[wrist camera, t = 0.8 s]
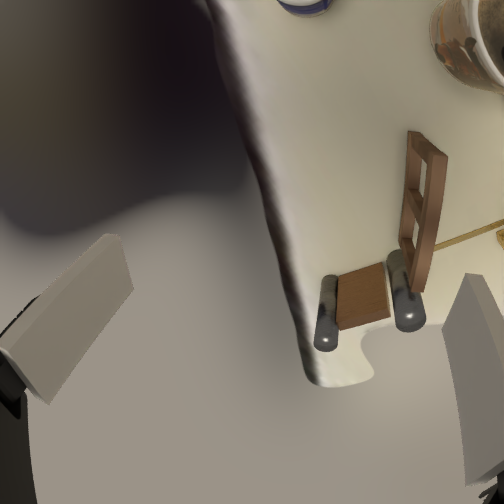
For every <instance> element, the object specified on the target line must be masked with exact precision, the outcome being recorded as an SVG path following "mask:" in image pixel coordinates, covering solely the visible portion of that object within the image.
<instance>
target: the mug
mask: <svg viewBox="0 0 504 504" xmlns="http://www.w3.org/2000/svg"><path fill="white" fill-rule="evenodd" d="M429 29H430V38H431V43H432V46H433V49H434V51H435V53H436V55H437V58H438V59H439V61H440V62H441V64H442V65H443V66H444V68H445V69H446V70H447V71H448V72H449V73H450V74H451V75H452V76H453V77H454V78H456V79H457V80H458V81H460V82H461V83H463V84H465V85H467V86H470V87H473V88H477V89H482V90H486V91H490V92H494V93H498V94H502V95H504V0H444V1H442V2H441V3H440V4H439V5H438V6H437V7H436V8H435V10H434V12H433V14H432V16H431V20H430V28H429Z"/></svg>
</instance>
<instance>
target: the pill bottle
mask: <svg viewBox="0 0 504 504" xmlns="http://www.w3.org/2000/svg"><path fill="white" fill-rule="evenodd" d="M277 1H278V2H279V3H280V5H281V6H282V7H283V8H284V9H285V10H287V11H288V12H289V13H291V14H293V15H296V16H300V17H314V16H318V15H320V14H322V13H324V12H325V11H326V10H328V9H329V7H330V6H331V4H332V2H333V0H277Z"/></svg>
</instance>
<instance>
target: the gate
mask: <svg viewBox="0 0 504 504" xmlns="http://www.w3.org/2000/svg"><path fill="white" fill-rule="evenodd" d="M422 159H423V160H424V161H425V162H426V164H427V170H426V180H425V189H424V198H423V197H422V195H421V194H420V192H419V184H420V174H421V162H422ZM447 163H448V156H447V155H446V154H444V153H443V152H441V151H440V150H439V149H438V148H437V147H436V146H434V145H433V144H432V143H431V142H430V141H429V140H427V139H426V138H425V137H424V136H423V135H422V134H421V133H420V132H411V131H408V143H407V162H406V176H405V188H404V198H403V207H402V216H401V224H400V232H399V239H398V242H399V246H400V248H401V250H402V253H403V257H404V261H405V265H406V269H407V273H408V277H409V285H410V290H411V292H424V289H425V285H426V281H427V277H428V273H429V269H430V264H431V260H432V256H433V251H434V246H435V242H436V237H437V231H438V226H439V221H440V215H441V209H442V202H443V196H444V188H445V181H446V172H447ZM415 218H416V221H417V223H418V225H419V232H418V238H417V244H416V249H415V247H414V244H413V241H412V237H413V230H414V224H415Z"/></svg>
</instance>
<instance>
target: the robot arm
mask: <svg viewBox="0 0 504 504" xmlns="http://www.w3.org/2000/svg"><path fill="white" fill-rule="evenodd" d="M133 290H134V287H133V284H132V280H131V277H130V273H129V270H128V266H127V262H126V259H125V255H124V251H123V247H122V243H121V239H120V235H114V234H104V235H103V236H102V237H101V238H100V239H99V240H98V241H96V243H94V244H93V245H92V246H91V247H90V248H89V249H88V250H86V251H85V252H84V253H83V254H82V255H81V256H80V257H79V258H78V259H77V260H76V261H75V262H74V263H72V264H71V265H70V266H69V267H68V268H67V269H66V270H65V271H64V272H63V273H62V274H61V275H60V276H59V277H58V278H57V279H56V280H55V281H54V282H53V283H52V284H51V285H50V286H49V287H48V288H47V289H46V290H45V291H44V292H43V293H42V294H40V295H39V296H37V297H36V298H34V299H33V300H31V302H30V303H28V305H27V306H26V307H25V308H24V310H23V311H21V312H20V313H19V314H18V315H17V318H14V319H13V321H12V322H11V323H10V324H9V325H8V326H7V327H6V328H5V330H3V332H2V333H1V334H0V504H37V499H36V494H35V488H34V481H33V474H32V466H31V457H30V446H29V433H28V409H27V395H26V394H25V392H24V391H25V389H26V388H28V389H29V390H30V391H31V393H32V394H33V395H34V396H35V397H36V398H38V399H39V400H41V401H42V402H44V403H46V404H48V405H49V404H50V403H51V401H52V400H53V398H54V397H55V395H56V394H57V392H58V391H59V389H60V388H61V387H62V385H63V384H64V382H65V381H66V379H67V378H68V377H69V375H70V374H71V372H72V371H73V369H74V368H75V367H76V365H77V364H78V362H79V361H80V360H81V358H82V357H83V356H84V354H85V353H86V352H87V350H88V349H89V347H90V346H91V345H92V343H93V342H94V341H95V339H96V338H97V337H98V335H99V334H100V333H101V331H102V330H103V329H104V327H105V326H106V324H107V323H108V322H109V321H110V319H111V318H112V317H113V315H114V314H115V313H116V312H117V310H118V309H119V308H120V306H121V305H122V304H123V303H124V301H125V300H126V299H127V297H128V296H129V295H130V294H131V292H132V291H133ZM442 333H443V337H444V341H445V345H446V349H447V354H448V358H449V362H450V367H451V372H452V377H453V382H454V388H455V394H456V400H457V405H458V412H459V419H460V426H461V435H462V444H463V455H464V466H465V486H472V485H478V484H483V483H486V482H488V481H489V480H491V479H492V478H494V477H495V476H497V481H498V483H497V484H495V485H493V486H492V487H490V488H488V489H487V490H485V491H483V492H482V493H481V494H480V496H479V498H482V497H484V496H485V495H487V494H488V496H487V497H486V499H485V500H484V502H483V504H504V319H503V317H502V315H501V312H500V310H499V308H498V306H497V304H496V302H495V299H494V297H493V295H492V293H491V291H490V289H489V287H488V285H487V283H486V281H485V279H484V277H483V275H477V274H469V273H465V276H464V278H463V281H462V284H461V286H460V289H459V291H458V294H457V296H456V298H455V301H454V303H453V305H452V308H451V310H450V312H449V314H448V317H447V319H446V321H445V323H444V325H443V327H442Z"/></svg>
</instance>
